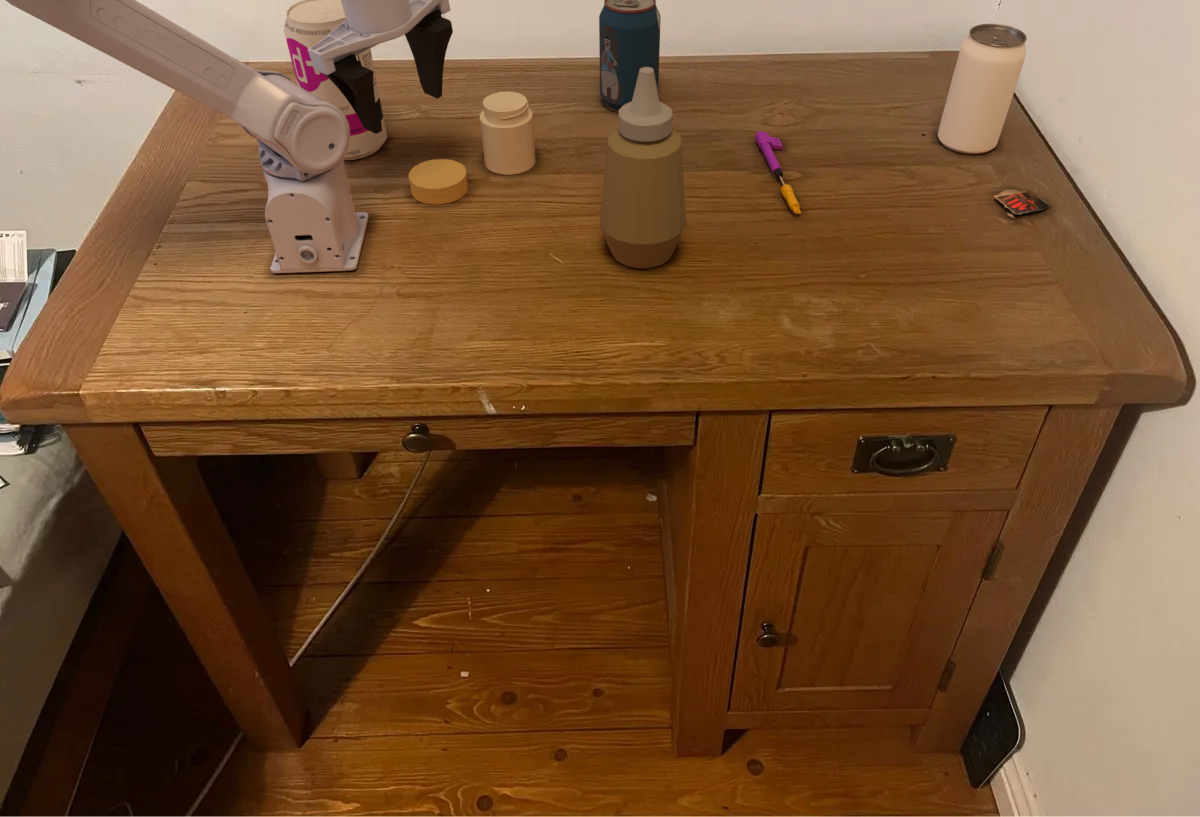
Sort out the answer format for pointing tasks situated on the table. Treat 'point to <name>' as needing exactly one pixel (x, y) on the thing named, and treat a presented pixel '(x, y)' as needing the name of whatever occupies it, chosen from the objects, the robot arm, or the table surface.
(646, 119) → the squeeze bottle
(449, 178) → the lid
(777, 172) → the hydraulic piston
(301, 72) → the supplement can
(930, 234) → the table surface
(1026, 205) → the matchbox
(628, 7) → the soda can
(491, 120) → the jar
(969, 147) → the can
